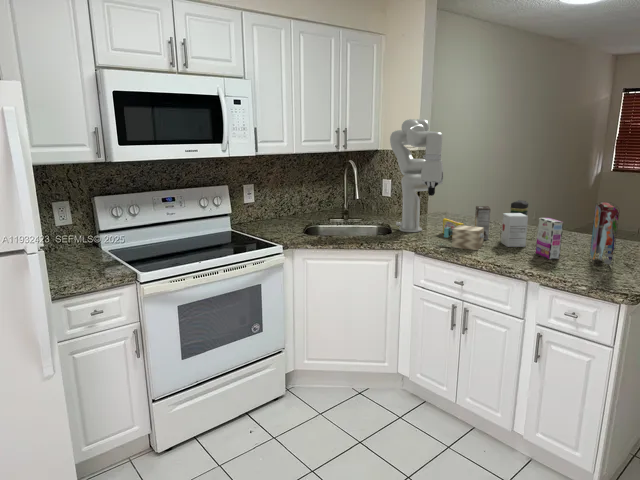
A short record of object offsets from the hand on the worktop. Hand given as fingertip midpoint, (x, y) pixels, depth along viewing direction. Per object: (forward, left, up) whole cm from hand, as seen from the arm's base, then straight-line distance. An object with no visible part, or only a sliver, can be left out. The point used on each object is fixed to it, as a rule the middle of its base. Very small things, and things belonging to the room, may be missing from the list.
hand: (431, 195), depth 226 cm
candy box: (+7, +16, -24) cm, 30 cm away
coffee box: (+21, +19, -24) cm, 37 cm away
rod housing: (+20, -3, -23) cm, 31 cm away
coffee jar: (+36, +33, -24) cm, 54 cm away
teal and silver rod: (+18, -3, -20) cm, 27 cm away
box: (+74, -1, -24) cm, 78 cm away
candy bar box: (+55, -4, -24) cm, 60 cm away
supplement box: (+38, +11, -24) cm, 46 cm away
